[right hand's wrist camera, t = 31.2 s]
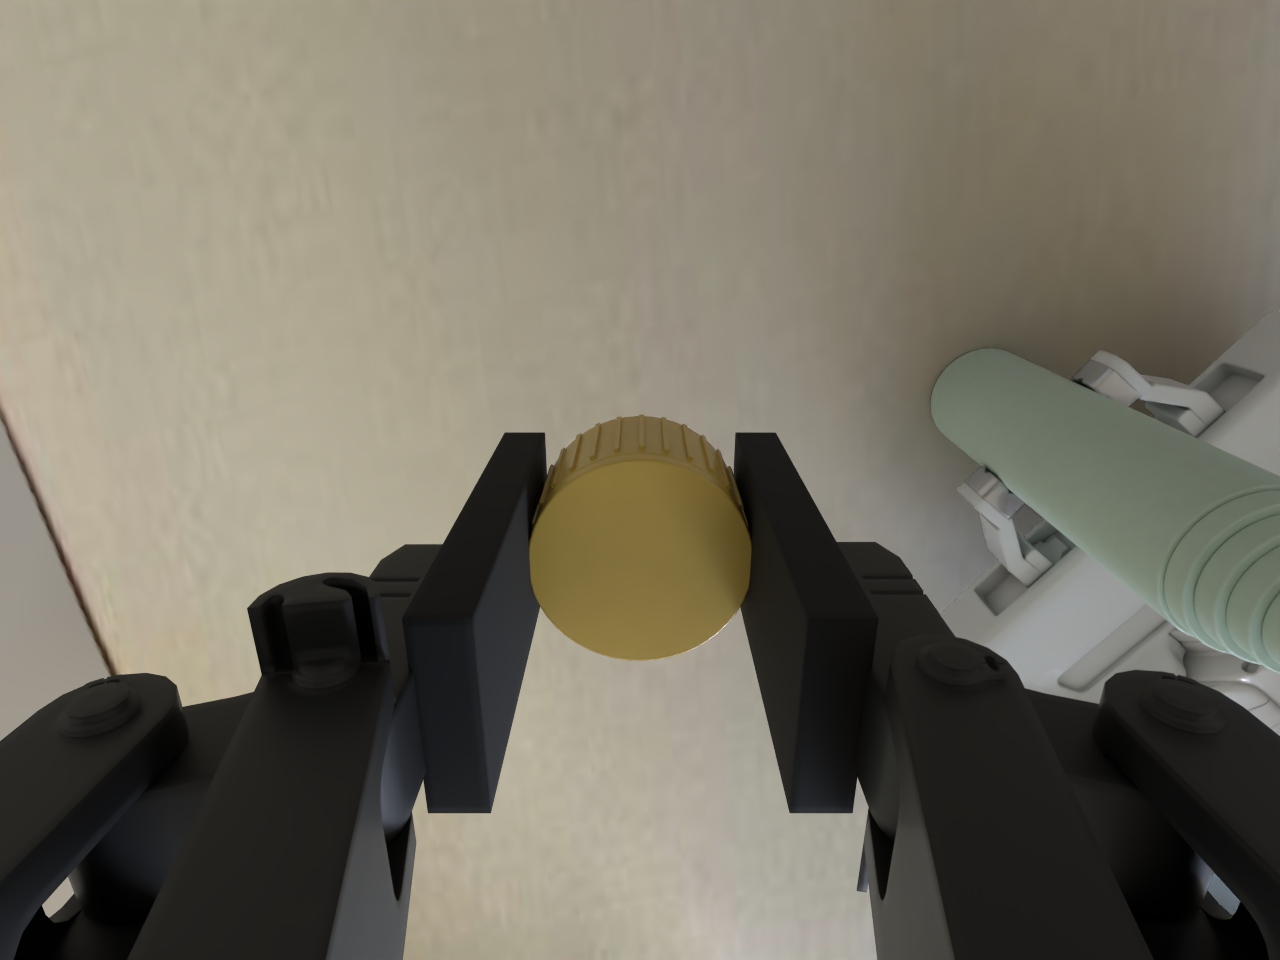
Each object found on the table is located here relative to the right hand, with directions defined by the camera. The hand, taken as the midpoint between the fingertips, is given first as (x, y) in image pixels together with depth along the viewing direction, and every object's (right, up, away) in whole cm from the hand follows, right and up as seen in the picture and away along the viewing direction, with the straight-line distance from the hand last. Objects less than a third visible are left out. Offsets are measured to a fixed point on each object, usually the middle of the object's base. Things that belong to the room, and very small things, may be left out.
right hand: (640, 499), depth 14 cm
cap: (0, -1, -2) cm, 2 cm away
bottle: (+16, +4, +21) cm, 27 cm away
